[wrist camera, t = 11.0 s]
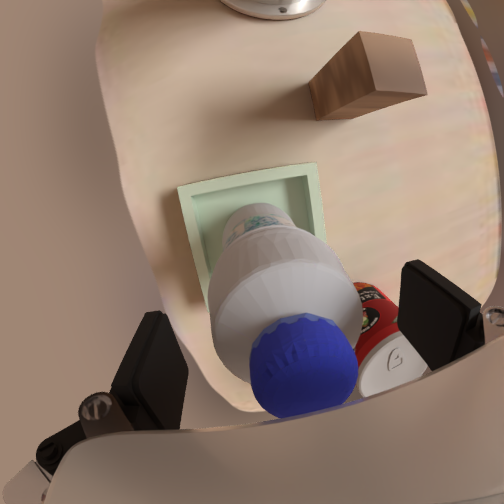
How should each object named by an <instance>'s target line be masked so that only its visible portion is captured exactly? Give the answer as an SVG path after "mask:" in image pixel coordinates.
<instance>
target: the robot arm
mask: <svg viewBox="0 0 504 504" xmlns="http://www.w3.org/2000/svg"><path fill="white" fill-rule="evenodd" d="M221 1H222V2H223V3H224V4H226V5H227V6H228V7H230V8H232V9H234V10H236V11H238V12H240V13H243V14H246V15H249V16H253V17H258V18H263V19H273V20H286V19H294V18H299V17H303V16H306V15H308V14H311V13H313V12H315V11H316V10H317V9H319V8H320V7H321V6H322V4H323V3H324V2H325V0H221ZM480 308H481V304H480V303H479V302H478V301H476V300H475V299H474V298H472V297H471V296H470V295H468V294H467V293H466V292H464V291H463V290H462V289H460V288H459V287H458V286H456V285H455V284H454V283H452V282H451V281H449V280H448V279H447V278H445V277H444V276H442V275H441V274H440V273H438V272H437V271H435V270H434V269H432V268H431V267H429V266H428V265H426V264H425V263H424V262H422V261H421V260H418V259H417V260H413V261H409V262H406V263H405V265H404V267H403V268H402V272H401V287H400V299H399V309H398V317H397V326H398V329H399V330H400V331H401V333H402V334H403V335H404V336H405V338H406V339H407V340H408V341H409V342H410V344H411V345H412V346H413V347H414V349H415V350H416V351H417V352H418V354H419V355H420V356H421V357H422V359H423V360H424V361H425V363H426V364H427V365H428V366H429V368H430V369H431V370H432V372H430V373H428V374H425V375H423V376H421V377H418V378H416V379H414V380H411V381H409V382H406V383H404V384H401V385H399V386H396V387H393V388H391V389H388V390H385V391H382V392H380V393H377V394H374V395H371V396H368V397H365V398H362V399H358V400H355V401H352V402H349V403H345V404H342V405H338V406H334V407H331V408H327V409H323V410H319V411H315V412H310V413H306V414H301V415H296V416H292V417H287V418H281V419H276V420H270V421H264V422H257V423H250V424H242V425H234V426H224V427H212V428H199V429H180V422H181V415H182V409H183V403H184V397H185V390H186V385H187V379H188V366H187V363H186V361H185V359H184V356H183V354H182V352H181V349H180V347H179V344H178V342H177V339H176V337H175V334H174V332H173V329H172V327H171V324H170V321H169V319H168V316H167V315H166V314H163V313H162V312H161V311H153V312H146V313H145V315H144V317H143V319H142V321H141V323H140V325H139V327H138V329H137V331H136V333H135V335H134V337H133V339H132V341H131V343H130V346H129V348H128V350H127V351H126V354H125V356H124V358H123V360H122V362H121V364H120V366H119V369H118V371H117V373H116V375H115V378H114V380H113V382H112V384H111V386H112V388H111V390H110V392H109V393H108V392H97V393H94V394H91V395H90V396H88V397H87V398H85V399H84V401H82V403H81V405H80V406H79V410H78V415H79V419H80V420H79V421H77V422H75V423H74V424H72V425H70V426H68V427H67V428H65V429H63V430H61V431H60V432H58V433H56V434H55V435H52V436H51V437H49V438H47V439H45V440H44V441H43V442H42V443H41V444H40V445H39V446H38V449H37V452H36V460H37V461H36V462H34V461H33V460H31V461H30V462H29V463H28V464H27V465H26V466H25V467H24V468H23V469H22V470H21V471H19V473H17V474H16V475H15V476H14V477H13V478H12V479H11V480H10V481H9V482H8V483H7V484H6V485H5V487H4V490H3V499H4V501H5V503H6V504H504V308H502V307H498V306H491V307H488V308H486V309H485V310H484V312H483V314H481V313H480ZM179 429H180V430H179Z"/></svg>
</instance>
